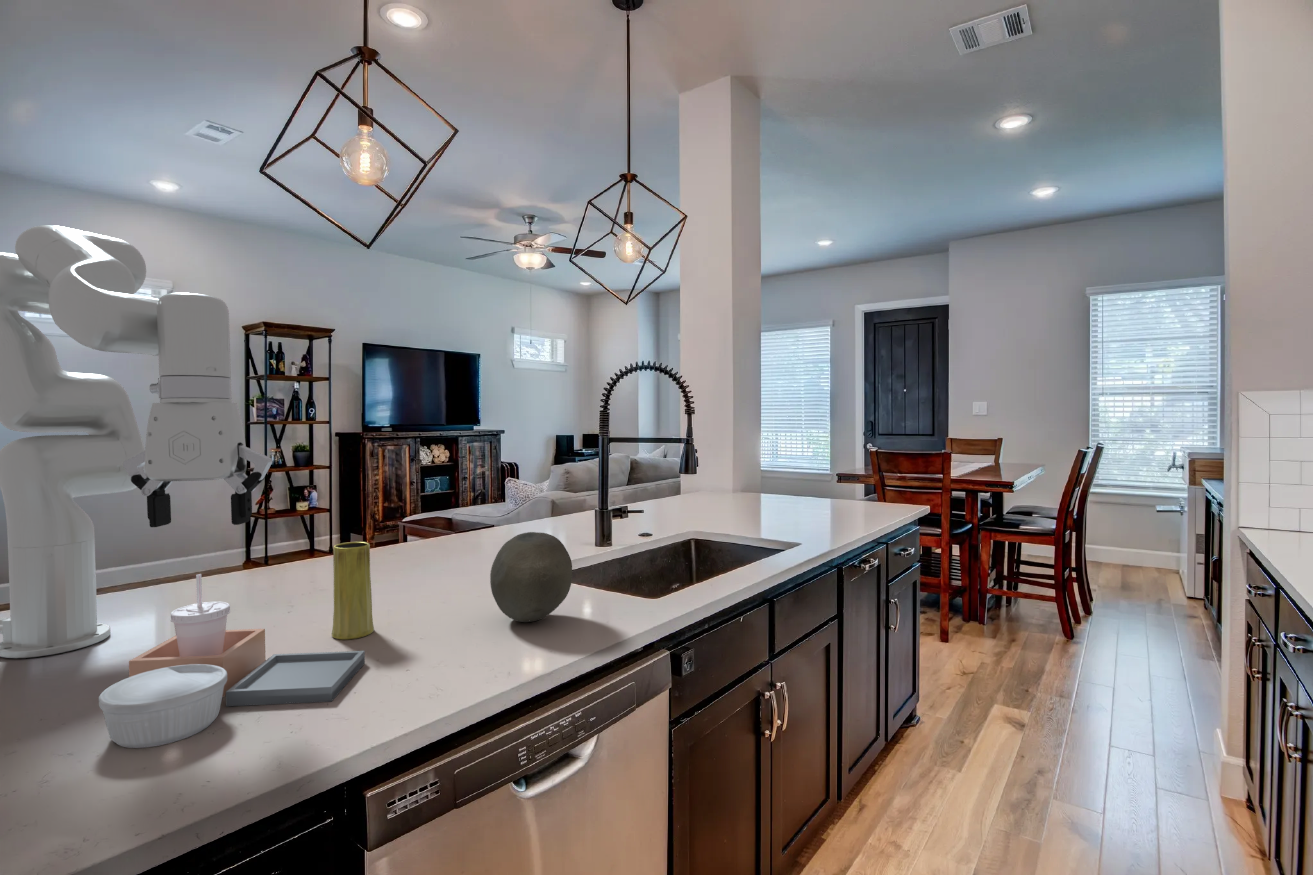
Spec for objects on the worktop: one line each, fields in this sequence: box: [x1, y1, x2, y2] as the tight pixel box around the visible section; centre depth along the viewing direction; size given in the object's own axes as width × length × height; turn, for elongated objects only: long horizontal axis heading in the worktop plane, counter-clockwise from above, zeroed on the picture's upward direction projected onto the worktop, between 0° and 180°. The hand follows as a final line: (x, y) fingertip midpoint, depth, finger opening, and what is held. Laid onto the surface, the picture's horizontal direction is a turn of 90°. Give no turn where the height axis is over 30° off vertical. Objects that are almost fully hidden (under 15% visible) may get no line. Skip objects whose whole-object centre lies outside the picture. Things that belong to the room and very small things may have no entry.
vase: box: [331, 541, 375, 641], centre depth 102 cm, size 6×6×14 cm
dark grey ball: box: [489, 531, 573, 623], centre depth 108 cm, size 14×14×15 cm
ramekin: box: [98, 664, 227, 749], centre depth 71 cm, size 11×11×5 cm
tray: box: [225, 650, 366, 707], centre depth 83 cm, size 12×12×2 cm
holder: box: [128, 628, 267, 698], centre depth 83 cm, size 11×11×5 cm
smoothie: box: [169, 573, 231, 657], centre depth 83 cm, size 6×6×14 cm
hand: (201, 524), depth 83 cm, fingers open, 9 cm apart
